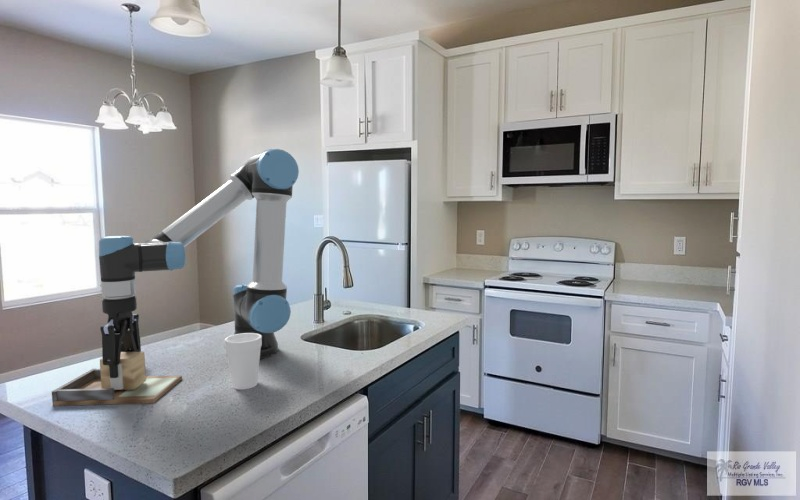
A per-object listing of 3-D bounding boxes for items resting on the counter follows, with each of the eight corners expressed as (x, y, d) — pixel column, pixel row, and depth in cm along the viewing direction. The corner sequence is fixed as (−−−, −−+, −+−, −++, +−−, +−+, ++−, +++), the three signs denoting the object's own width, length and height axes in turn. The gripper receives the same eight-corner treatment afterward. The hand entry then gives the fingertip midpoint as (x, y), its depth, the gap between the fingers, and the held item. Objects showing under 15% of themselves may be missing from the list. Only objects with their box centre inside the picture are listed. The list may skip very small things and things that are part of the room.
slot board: (181, 378, 128) (181, 366, 128) (153, 403, 112) (153, 389, 112) (93, 380, 127) (92, 368, 127) (52, 405, 111) (51, 391, 111)
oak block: (145, 380, 122) (144, 351, 122) (134, 389, 116) (132, 358, 116) (115, 381, 122) (113, 352, 121) (101, 390, 116) (99, 359, 115)
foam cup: (228, 394, 117) (226, 344, 116) (224, 382, 125) (222, 335, 124) (266, 387, 121) (264, 339, 120) (259, 376, 130) (258, 331, 128)
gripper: (124, 290, 126) (129, 371, 129) (80, 304, 108) (86, 399, 110) (152, 289, 127) (156, 370, 129) (113, 303, 108) (118, 398, 110)
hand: (124, 383), depth 119 cm, fingers closed on oak block, 6 cm apart
